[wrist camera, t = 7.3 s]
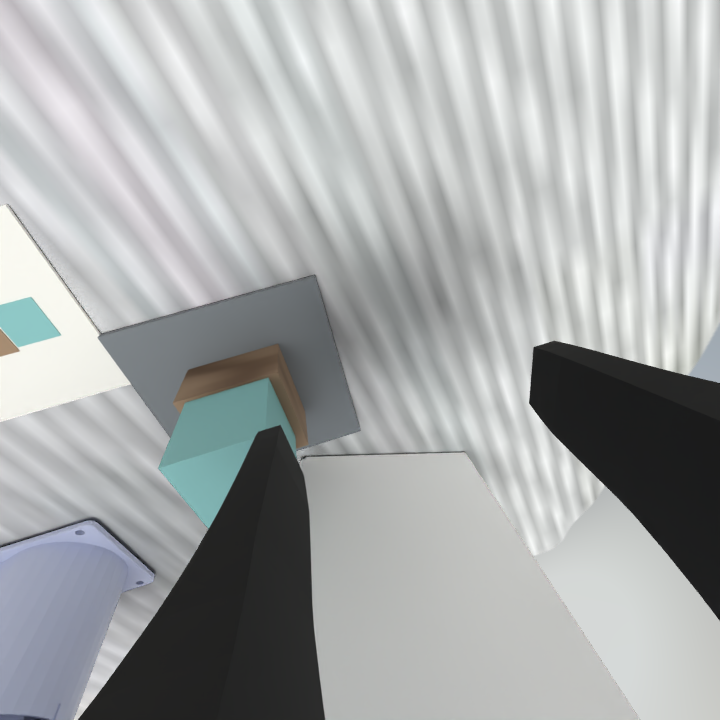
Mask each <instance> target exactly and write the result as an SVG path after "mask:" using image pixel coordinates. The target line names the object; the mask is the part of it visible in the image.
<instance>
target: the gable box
mask: <svg viewBox="0 0 720 720" xmlns="http://www.w3.org/2000/svg"><path fill="white" fill-rule="evenodd" d="M300 468H301V470H302V472H303V474H304V478H305V485H306V491H307V498H308V505H309V515H310V542H311V575H312V606H313V621H314V632H315V641H316V649H317V658H318V666H319V675H320V683H321V691H322V699H323V707H324V714H325V720H640V719H639V717H638V716H637V714H636V712H635V711H634V709H633V708H632V707H631V705H630V703H629V702H628V700H627V699H626V697H625V696H624V694H623V693H622V691H621V690H620V688H619V687H618V685H617V683H616V682H615V681H614V679H613V677H612V676H611V674H610V673H609V671H608V670H607V668H606V667H605V665H604V664H603V662H602V660H601V659H600V658H599V656H598V655H597V653H596V651H595V650H594V648H593V647H592V645H591V644H590V642H589V641H588V639H587V638H586V636H585V635H584V633H583V632H582V630H581V628H580V627H579V625H578V624H577V622H576V621H575V619H574V618H573V616H572V615H571V613H570V612H569V610H568V609H567V607H566V605H565V604H564V602H563V601H562V599H561V598H560V597H559V595H558V593H557V592H556V590H555V589H554V587H553V586H552V584H551V583H550V581H549V580H548V578H547V576H546V575H545V573H544V572H543V570H542V569H541V568H540V566H539V564H538V563H537V561H536V560H535V558H534V557H533V555H532V554H531V552H530V550H529V549H528V547H527V546H526V544H525V543H524V541H523V540H522V538H521V537H520V535H519V534H518V532H517V531H516V529H515V528H514V526H513V524H512V523H511V521H510V520H509V518H508V517H507V515H506V514H505V512H504V511H503V509H502V508H501V506H500V505H499V503H498V502H497V500H496V498H495V497H494V495H493V494H492V492H491V491H490V489H489V488H488V486H487V485H486V483H485V482H484V480H483V479H482V477H481V476H480V474H479V472H478V471H477V469H476V468H475V466H474V465H473V463H472V462H471V460H470V459H469V457H468V456H467V454H466V453H465V452H460V453H426V454H392V455H358V456H324V457H305V459H302V460H301V461H300Z"/></svg>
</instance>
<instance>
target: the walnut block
mask: <svg viewBox="0 0 720 720" xmlns="http://www.w3.org/2000/svg"><path fill="white" fill-rule="evenodd" d="M265 378H269V380H270V382H271V384H272V386H273V388H274V391H275V393H276V395H277V397H278V399H279V402H280V404H281V406H282V408H283V410H284V413H285V415H286V417H287V419H288V421H289V424H290V426H291V428H292V430H293V432H294V435H295V438H296V449H297V448H300V447H303V446H306V445H308V435H307V425H306V415H305V410H304V407H303V405H302V402H301V400H300V397H299V395H298V392H297V390H296V387H295V385H294V382H293V380H292V377H291V375H290V372H289V370H288V367H287V365H286V362H285V360H284V357H283V355H282V352H281V350H280V347H279V345H278V344H275V345H272V346H268V347H265V348H261V349H258V350H254V351H251V352H247V353H244V354H241V355H237V356H234V357H230V358H227V359H223V360H220V361H216V362H213V363H210V364H206V365H203V366H199V367H196V368H192V369H189V370H188V371H187V373H186V375H185V377H184V380H183V382H182V384H181V386H180V388H179V390H178V393H177V395H176V397H175V399H174V401H173V404H174V406H175V407H176V409H177V410H178V412H179V413H180V414H181V412H182V409H183V407H184V404H185V403H186V402H189V401H192V400H195V399H199V398H202V397H205V396H209V395H212V394H215V393H219V392H222V391H225V390H228V389H232V388H235V387H238V386H242V385H245V384H248V383H252V382H255V381H258V380H261V379H265Z"/></svg>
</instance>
